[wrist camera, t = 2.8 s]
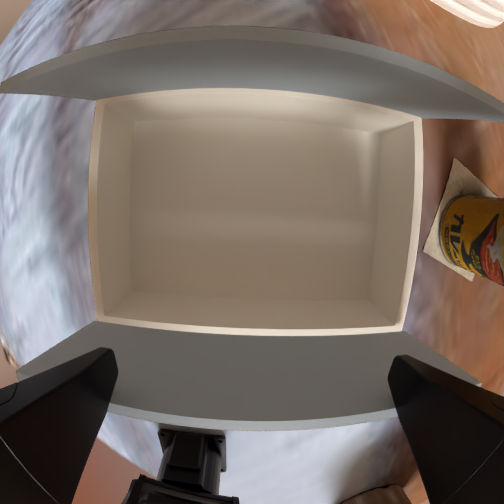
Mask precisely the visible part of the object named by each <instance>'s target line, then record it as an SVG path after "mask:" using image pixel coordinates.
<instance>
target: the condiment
mask: <svg viewBox="0 0 504 504" xmlns="http://www.w3.org/2000/svg"><path fill="white" fill-rule="evenodd" d="M462 190H465V191H464V192H462ZM459 192H462V194H460V193H459ZM423 251H424V252H425V253H427V254H429V255H430V256H432V257H433V258H435V259H437V260H438V261H440V262H441V263H443V264H445V265H446V266H448V267H449V268H451V269H453V270H454V271H456V272H457V273H459V274H460V275H462V276H464V277H465V278H467V279H468V280H470V281H471V282H472V279H473V277H474V274H477V275H480V276H482V277H484V278H487V279H489V280H491V281H494V282H496V283H498V284H500V285H502V286H504V198H498V197H497V196H496V195H494V194H493V193H492V192H491V191H490V190H489V189H488V188H487V187H486V186H485V185H484V184H483V183H482V182H481V181H480V180H479V179H478V178H477V177H475V176H474V175H473V174H472V173H471V172H470V171H469V170H468V169H467V168H466V167H464V166H463V165H462V163H460V162H459V161H458V160H457V159H456V158H455V157H454V160H453V165H452V168H451V171H450V176H449V180H448V182H447V185H446V190H445V192H444V195H443V198H442V200H441V203H440V206H439V208H438V211H437V214H436V217H435V220H434V223H433V225H432V228H431V230H430V234H429V236H428V238H427V241H426V244H425V246H424V250H423Z"/></svg>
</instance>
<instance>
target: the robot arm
mask: <svg viewBox="0 0 504 504" xmlns="http://www.w3.org/2000/svg"><path fill="white" fill-rule="evenodd" d="M117 378H118V366H117V362H116V358H115V354H114V351H113V350H112V349H111V348H106V347H99V348H97V349H95V350H92V351H90V352H88V353H86V354H83V355H81V356H79V357H76V358H74V359H72V360H69V361H67V362H65V363H62V364H60V365H58V366H55V367H53V368H50V369H48V370H46V371H43V372H41V373H38V374H36V375H34V376H31V377H29V378H26V379H24V380H21V381H19V382H18V383H14V384H12V385H9V386H6V387H4V388H1V389H0V504H72V501H73V498H74V495H75V492H76V489H77V486H78V484H79V480H80V478H81V475H82V472H83V470H84V467H85V465H86V462H87V459H88V457H89V454H90V452H91V449H92V447H93V444H94V442H95V439H96V437H97V434H98V432H99V430H100V427H101V425H102V422H103V420H104V418H105V415H106V413H107V410H108V407H109V403H110V400H111V397H112V393H113V390H114V387H115V384H116V381H117ZM387 380H388V384H389V388H390V391H391V394H392V398H393V401H394V404H395V408H396V411H397V415H398V418H399V420H400V423H401V425H402V428H403V430H404V433H405V435H406V438H407V440H408V443H409V445H410V448H411V451H412V453H413V456H414V459H415V461H416V464H417V467H418V470H419V472H420V475H421V478H422V481H423V484H424V487H425V490H426V493H427V496H428V499H429V502H430V504H504V397H503V396H500V395H498V394H495V393H493V392H491V391H488V390H485V389H483V388H481V387H479V386H476V385H474V384H472V383H469V382H467V381H465V380H463V379H460V378H458V377H456V376H453V375H451V374H449V373H447V372H444V371H442V370H440V369H438V368H435V367H433V366H431V365H429V364H427V363H424V362H422V361H420V360H418V359H416V358H413V357H411V356H409V355H407V354H403V355H397V356H395V357H394V359H393V362H392V365H391V367H390V370H389V373H388V377H387ZM158 436H159V440H160V444H161V447H162V451H163V454H164V455H163V458H162V462H161V465H160V469H159V472H158V476H157V479H156V480H155V479H151V478H149V477H146V476H145V475H142V474H140V476H139V479H134V480H132V482H131V485H130V488H129V491H128V493H127V495H126V497H125V498H124V500H123V502H122V504H239V498H238V497H233V496H232V497H227V496H221V495H219V484H220V472H225V471H226V439H225V437H224V436H220V435H208V434H197V433H188V432H180V431H173V430H167V429H160V430H159V431H158Z"/></svg>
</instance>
